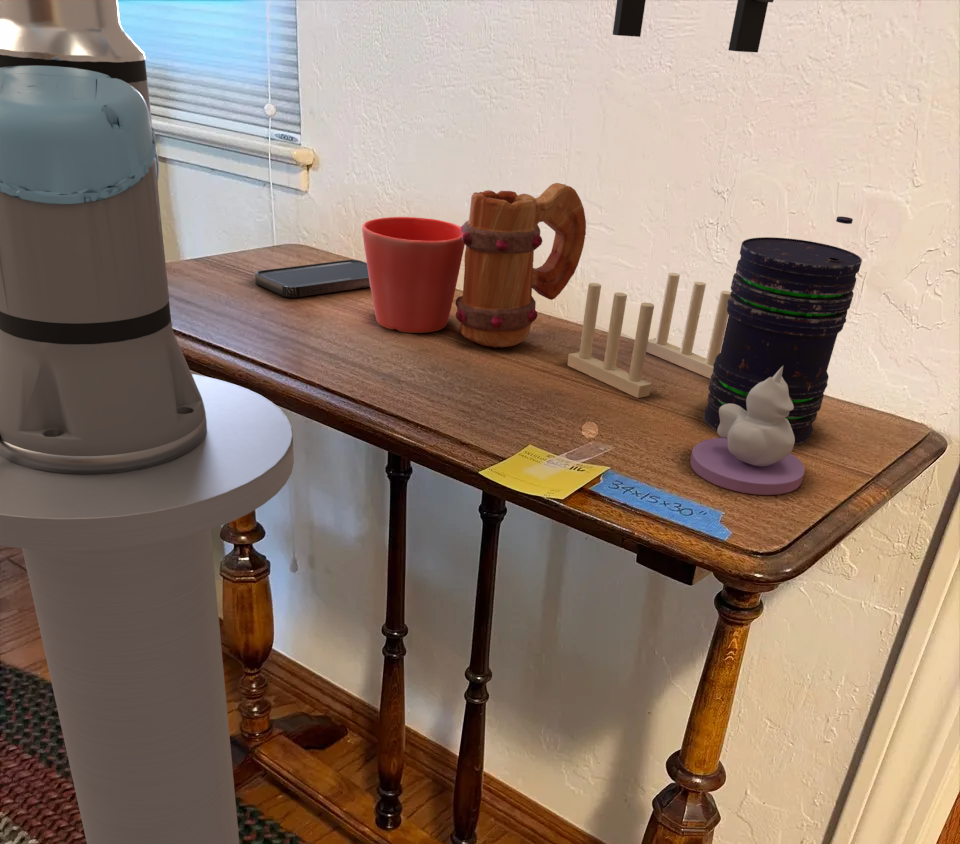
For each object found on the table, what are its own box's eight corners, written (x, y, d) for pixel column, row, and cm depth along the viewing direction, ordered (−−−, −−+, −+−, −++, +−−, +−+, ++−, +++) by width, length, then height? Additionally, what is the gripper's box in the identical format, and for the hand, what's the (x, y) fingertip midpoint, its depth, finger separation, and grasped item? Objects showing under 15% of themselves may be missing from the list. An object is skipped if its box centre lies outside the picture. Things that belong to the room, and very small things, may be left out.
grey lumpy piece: (768, 482, 74) (796, 381, 69) (694, 454, 77) (716, 356, 73) (799, 464, 77) (827, 366, 73) (727, 438, 81) (750, 343, 76)
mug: (475, 358, 96) (487, 195, 87) (434, 333, 101) (442, 178, 93) (590, 343, 103) (612, 191, 94) (546, 321, 108) (564, 176, 100)
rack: (637, 398, 90) (653, 309, 85) (567, 365, 96) (578, 281, 91) (725, 378, 97) (744, 295, 92) (654, 349, 103) (668, 269, 98)
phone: (250, 271, 111) (356, 258, 120) (251, 281, 112) (356, 267, 120) (288, 288, 106) (394, 273, 115) (288, 299, 107) (394, 283, 116)
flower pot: (381, 341, 98) (383, 240, 92) (348, 310, 106) (348, 215, 100) (476, 335, 102) (483, 239, 96) (437, 306, 110) (442, 215, 104)
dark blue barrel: (681, 419, 86) (726, 204, 76) (736, 396, 92) (784, 194, 82) (780, 456, 81) (843, 230, 71) (831, 429, 87) (895, 217, 77)
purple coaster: (753, 504, 73) (756, 493, 72) (667, 460, 78) (669, 449, 78) (824, 480, 77) (827, 469, 77) (738, 440, 83) (740, 429, 82)
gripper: (922, -316, 63) (830, 60, 75) (654, -273, 79) (614, 32, 91) (853, -345, 59) (768, 57, 71) (586, -293, 75) (553, 28, 87)
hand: (681, 43), depth 81 cm, fingers open, 13 cm apart
